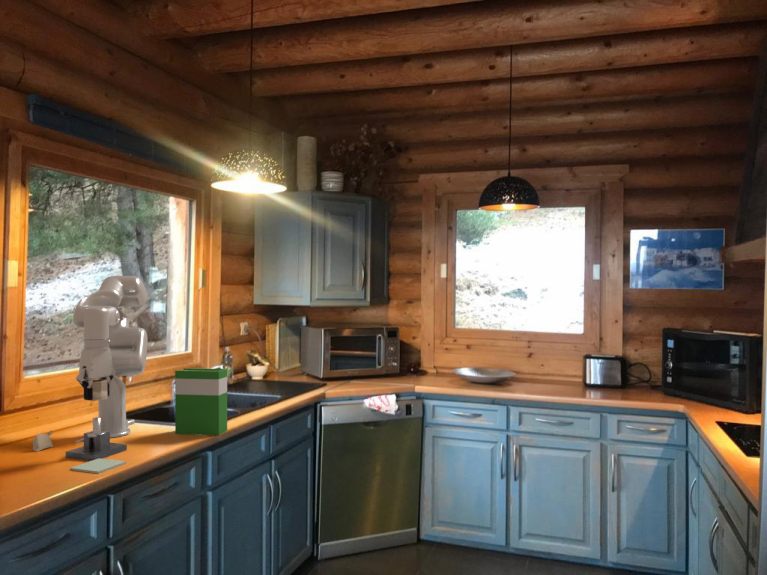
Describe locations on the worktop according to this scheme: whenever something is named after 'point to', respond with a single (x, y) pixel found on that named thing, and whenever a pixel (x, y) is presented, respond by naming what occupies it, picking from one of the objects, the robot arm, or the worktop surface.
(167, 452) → the worktop surface
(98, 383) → the hollow octagonal tube
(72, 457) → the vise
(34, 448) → the decorative ornament
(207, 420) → the green banded box
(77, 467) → the mat
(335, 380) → the worktop surface
